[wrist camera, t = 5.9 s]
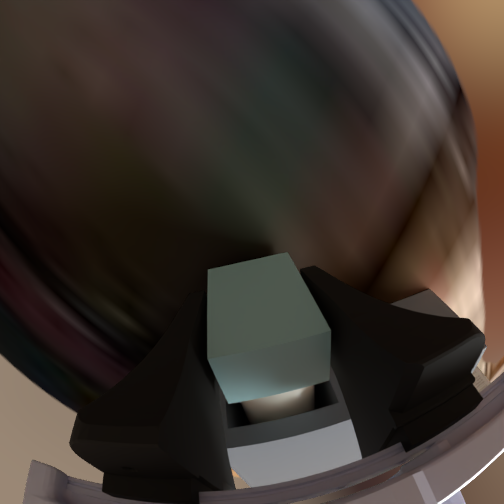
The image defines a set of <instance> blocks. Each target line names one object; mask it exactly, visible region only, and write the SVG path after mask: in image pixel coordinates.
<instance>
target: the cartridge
mask: <svg viewBox="0 0 504 504" xmlns="http://www.w3.org/2000/svg"><path fill="white" fill-rule="evenodd" d="M330 354H331V330H330V328H329V326H328V324H327V322H326V320H325V318H324V317H323V315H322V313H321V311H320V309H319V307H318V306H317V304H316V302H315V300H314V298H313V297H312V295H311V293H310V291H309V289H308V288H307V286H306V284H305V282H304V280H303V279H302V277H301V275H300V273H299V272H298V270H297V268H296V266H295V264H294V263H293V261H292V259H291V257H290V256H289V254H288V252H285V253H281V254H276V255H272V256H267V257H263V258H258V259H254V260H249V261H245V262H240V263H236V264H231V265H227V266H222V267H217V268H213V269H208V293H207V359H208V361H209V364H210V366H211V368H212V370H213V372H214V375H215V377H216V379H217V381H218V383H219V385H220V387H221V389H222V391H223V393H224V395H225V398H226V400H227V402H228V404H231V403H237V402H241V404H242V407H243V409H244V411H245V413H246V416H247V418H248V420H249V422H250V425H253V424H258V423H264V422H268V421H273V420H278V419H282V418H286V417H290V416H294V415H298V414H302V413H306V412H309V411H313V410H315V387H314V385H315V384H318V383H322V382H325V381H328V380H329V379H330Z"/></svg>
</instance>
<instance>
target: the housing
mask: <svg viewBox="0 0 504 504" xmlns="http://www.w3.org/2000/svg"><path fill="white" fill-rule="evenodd" d="M391 304H392V305H395V306H398V307H401V308H405V309H408V310H412V311H416V312H421V313H425V314H431V315H437V316H443V317H455V318H459V317H458V316H457V315H456V314H455V313H454V312H453V311H452V310H451V309H450V308H449V307H448V306H447V305H446V304H445V303H444V302H443V301H442V300H441V299H440V298H439V297H438V296H437V295H436V294H435V293H434V292H433V291H431V290H430V289H428V290H426V291H423V292H421V293H418V294H415V295H413V296H410V297H408V298H405V299H402V300H399V301H397V302H394V303H391ZM486 348H487V346H486V345H485V344H484V348H483V350H482V353H481V355H480V357H479V358H478V360H477V362H476V364H475V366H474V368H473V369H472V371H471V373H473V371H474V370H475V368H476V366H477V364H478V363H479V361H480V359H481V357H482V355H483V353H484V351H485V349H486ZM314 387H315V410H313V411H309V412H306V413H302V414H298V415H294V416H290V417H286V418H282V419H278V420H273V421H268V422H264V423H258V424H253V425H250V422H249V420H248V418H247V416H246V413H245V411H244V409H243V407H242V404H241V402H237V403H231V404H228V402H227V400H226V398H225V395H224V393H223V391H222V389H221V387H220V406H221V413H222V421H223V428H224V434H225V440H226V446H227V451H228V456H229V462H230V466H231V468H232V469H233V470H234V471H235V472H236V473H237V474H238V475H239V476H240V477H241V478H242V479H243V480H244V481H245V482H246V483H247V484H248V485H249V486H250V487H251V488H252V487H259V486H265V485H271V484H276V483H281V482H286V481H291V480H295V479H299V478H304V477H307V476H311V475H315V474H319V473H322V472H325V471H329V470H332V469H335V468H338V467H341V466H344V465H347V464H350V463H352V462H355V461H358V460H360V459H362V456H361V452H360V448H359V444H358V441H357V437H356V434H355V430H354V427H353V424H352V421H351V418H350V414H349V411H348V408H347V406H346V403H345V400H344V397H343V394H342V391H341V389H340V386H339V383H338V381H337V378H336V376H335V374H334V371H333V369H332V367H331V365H330V379H329V380H328V381H325V382H322V383H318V384H315V385H314Z"/></svg>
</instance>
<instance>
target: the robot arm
mask: <svg viewBox="0 0 504 504" xmlns="http://www.w3.org/2000/svg"><path fill="white" fill-rule="evenodd" d="M300 273H301V277H302V279H303V280H304V282H305V284H306V286H307V288H308V289H309V291H310V293H311V295H312V297H313V298H314V300H315V302H316V304H317V306H318V307H319V309H320V311H321V313H322V315H323V317H324V318H325V320H326V322H327V324H328V326H329V328H330V330H331V354H330V365H331V367H332V369H333V371H334V374H335V376H336V378H337V381H338V383H339V386H340V389H341V391H342V394H343V397H344V400H345V403H346V406H347V408H348V411H349V414H350V418H351V421H352V424H353V427H354V430H355V434H356V437H357V441H358V444H359V448H360V452H361V456H362V459H360V460H358V461H355V462H352V463H350V464H347V465H344V466H341V467H338V468H335V469H332V470H329V471H325V472H322V473H319V474H315V475H311V476H307V477H304V478H299V479H295V480H291V481H286V482H281V483H276V484H271V485H265V486H259V487H252V488H244V489H236V488H235V484H234V480H233V475H232V471H231V466H230V462H229V456H228V451H227V446H226V440H225V434H224V428H223V421H222V413H221V406H220V385H219V383H218V381H217V379H216V377H215V375H214V372H213V370H212V368H211V366H210V364H209V361H208V359H207V297H206V294H205V291H199V292H194V293H190V294H189V295H188V297H187V298H186V300H185V302H184V303H183V305H182V307H181V308H180V310H179V312H178V313H177V315H176V316H175V318H174V319H173V321H172V323H171V324H170V326H169V327H168V329H167V330H166V331H165V333H164V334H163V336H162V337H161V338H160V340H159V341H158V343H157V344H156V345H155V346H154V348H153V349H152V350H151V351H150V352H149V353H148V355H147V356H146V357H145V358H144V359H143V360H142V361H141V362H140V363H139V364H138V365H137V366H136V367H135V368H134V369H133V370H132V371H131V372H130V373H129V374H128V375H127V376H126V377H125V378H124V379H122V380H121V381H120V382H119V383H118V384H116V385H115V386H114V387H113V388H111V389H110V390H109V391H107V392H106V393H105V394H103V395H102V396H100V397H99V398H97V399H96V400H94V401H93V402H91V403H90V404H88V405H86V406H85V407H83V408H82V409H80V410H78V413H77V416H76V420H75V423H74V427H73V430H72V434H71V438H70V442H69V443H70V447H71V448H72V450H73V451H74V452H75V453H76V454H77V455H78V456H79V457H81V458H82V459H84V460H85V461H86V462H88V463H89V464H91V465H92V466H94V467H96V468H97V469H99V470H100V471H102V472H104V476H103V484H99V483H94V482H90V481H85V480H81V479H77V478H73V477H70V476H67V475H66V474H65V473H63V472H62V471H60V470H58V469H57V468H55V467H52V466H50V465H47V464H44V463H41V462H38V461H35V460H32V461H31V465H30V470H29V473H28V478H27V483H26V488H25V493H24V499H23V504H289V503H294V502H298V501H303V500H307V499H311V498H315V497H318V496H322V495H325V494H329V493H332V492H335V491H338V490H341V489H344V488H347V487H350V486H353V485H355V484H358V483H361V482H363V481H366V480H369V479H371V478H373V477H375V476H378V475H380V474H383V473H385V472H387V471H389V470H391V469H393V468H396V467H398V466H400V465H402V464H404V463H406V462H407V463H406V464H404V465H402V466H401V468H400V471H398V472H397V473H396V474H395V475H394V476H392V477H391V478H390V479H388V480H387V481H385V482H383V483H381V484H378V485H376V486H373V487H370V488H368V489H365V490H362V491H360V492H357V493H354V494H351V495H348V496H345V497H342V498H339V499H336V500H332V501H329V502H326V503H322V504H466V503H465V500H464V498H463V496H462V494H461V492H460V489H462V488H463V487H464V486H465V485H467V484H468V483H469V482H470V481H471V480H473V479H474V478H475V477H476V476H478V475H479V474H480V473H481V472H482V471H483V470H484V469H485V468H486V467H487V466H489V465H490V464H491V463H492V462H493V461H494V460H495V459H496V458H497V457H498V456H499V455H500V454H501V453H502V452H503V451H504V372H503V373H502V374H501V375H500V376H499V377H498V378H497V379H495V380H494V381H493V382H492V383H491V384H489V385H488V386H487V387H486V388H485V389H483V390H482V391H481V392H478V390H477V389H476V388H475V386H474V385H473V383H474V382H475V377H474V376H473V374H472V373H471V371H472V369H473V368H474V366H475V364H476V362H477V360H478V358H479V357H480V355H481V353H482V350H483V348H484V344H485V335H484V334H483V333H482V332H481V331H480V330H479V329H478V328H477V327H476V326H475V325H474V323H473V322H472V321H471V320H470V319H468V318H455V317H443V316H437V315H431V314H425V313H421V312H416V311H412V310H408V309H405V308H401V307H398V306H395V305H392V304H389V303H386V302H384V301H381V300H378V299H376V298H373V297H371V296H369V295H367V294H365V293H363V292H361V291H358V290H356V289H355V288H353V287H351V286H349V285H347V284H345V283H343V282H342V281H340V280H338V279H336V278H335V277H333V276H331V275H330V274H328V273H326V272H325V271H323V270H321V269H320V268H318V267H316V266H311V267H306V268H302V269H300ZM413 458H414V459H413ZM411 459H412V460H411ZM409 460H410V461H409ZM408 461H409V462H408Z"/></svg>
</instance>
